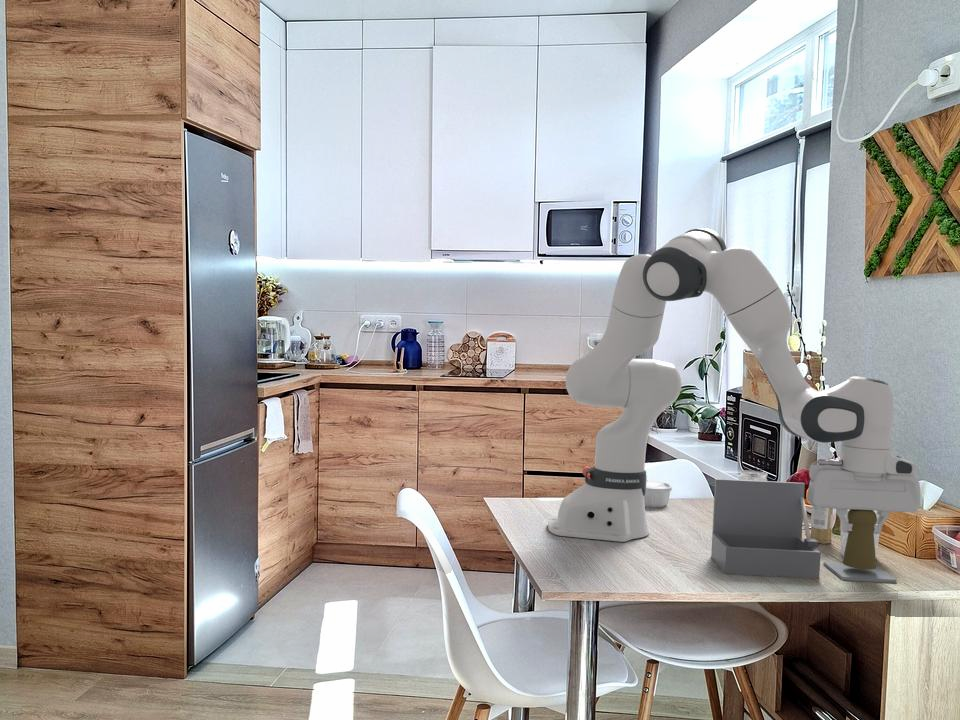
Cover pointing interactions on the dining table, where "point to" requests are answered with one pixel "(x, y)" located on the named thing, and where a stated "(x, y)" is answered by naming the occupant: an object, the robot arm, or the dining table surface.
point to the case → (762, 529)
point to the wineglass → (752, 475)
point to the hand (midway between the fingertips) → (861, 532)
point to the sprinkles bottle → (821, 524)
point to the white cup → (845, 535)
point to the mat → (859, 573)
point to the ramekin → (656, 494)
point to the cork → (861, 540)
